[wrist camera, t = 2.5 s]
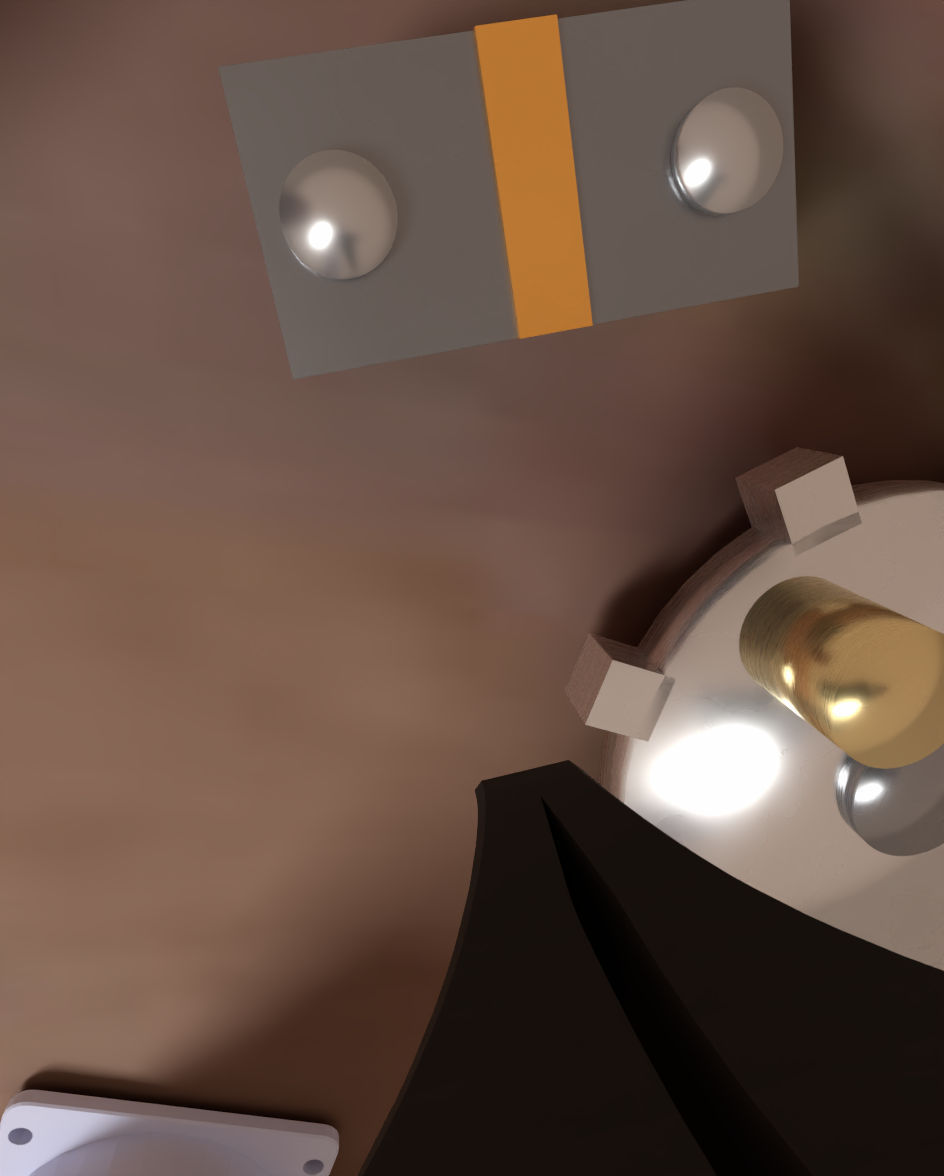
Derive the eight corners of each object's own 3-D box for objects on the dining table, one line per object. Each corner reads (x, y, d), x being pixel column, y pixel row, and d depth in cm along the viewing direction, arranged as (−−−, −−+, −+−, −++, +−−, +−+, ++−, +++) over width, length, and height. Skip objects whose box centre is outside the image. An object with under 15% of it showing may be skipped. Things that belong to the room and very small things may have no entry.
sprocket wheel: (948, 1034, 21) (1102, 1206, 17) (459, 943, 17) (495, 1132, 13) (1247, 548, 18) (1533, 608, 13) (719, 317, 14) (878, 299, 10)
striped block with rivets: (311, 373, 14) (292, 380, 9) (264, 169, 13) (214, 57, 8) (657, 309, 15) (809, 284, 10) (640, 111, 14) (799, -26, 9)
